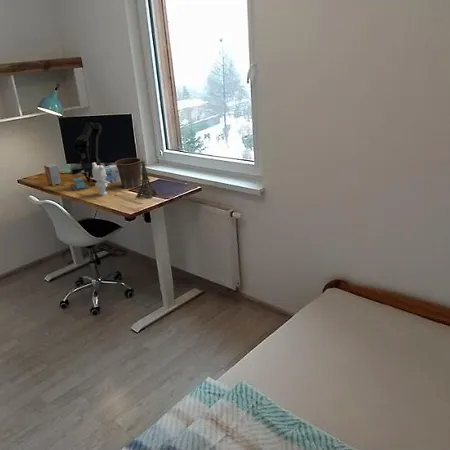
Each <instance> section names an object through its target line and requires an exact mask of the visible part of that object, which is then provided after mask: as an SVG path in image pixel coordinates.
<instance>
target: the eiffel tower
mask: <svg viewBox="0 0 450 450" xmlns="http://www.w3.org/2000/svg"><path fill="white" fill-rule="evenodd" d="M145 163H146V160H144V158H143V156H142V158H141V185H140V186H139V187H140V189H139V190H138V192H137V193H136V196H135V197H134V198H135V199H137V198H138V199H140V198H141V197H142V194H145V195H146V196H147V197H146V199H152V198H154V196H153V195H159V194H160V192H158V190H156V188H155V187H153V185H152V184H151V182H150V178H149V176H148V171H147V168H146V164H145ZM150 191H151V192H152V193H151V192H150ZM152 194H153V195H152Z"/></svg>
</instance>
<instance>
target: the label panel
mask: <svg viewBox="0 0 450 450" xmlns="http://www.w3.org/2000/svg"><path fill="white" fill-rule="evenodd" d="M84 183H85V187H84V188H78V189H77V187H76V186H75V184H73V185H71V188H72V190H73V191H74V192H76V190H77V191H81V190H88V189H89V188H90V187H89V186H88V183H86V182H84Z"/></svg>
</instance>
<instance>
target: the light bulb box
mask: <svg viewBox="0 0 450 450" xmlns="http://www.w3.org/2000/svg"><path fill="white" fill-rule="evenodd" d="M104 169H105V171H106V175H107V176H106V179H104V180H106V181H107V182H111V183H107V186H108V185H112V184H116V183H121V180H120V176H119V172H118V169H117V166H116V164H110V165H107V166H104Z"/></svg>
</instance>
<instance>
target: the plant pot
mask: <svg viewBox="0 0 450 450" xmlns="http://www.w3.org/2000/svg"><path fill="white" fill-rule="evenodd" d="M141 161H142V158H138V157H130V158H129V157H127V158H122V159H118V160H116V161H115V162H114V165H116V166H117V169H118V172H119V178H120V183H121V187H122V188H125V189H132V188H137V187H141V185H142V181H141V180H142V172H141V167H142V163H141Z"/></svg>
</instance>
